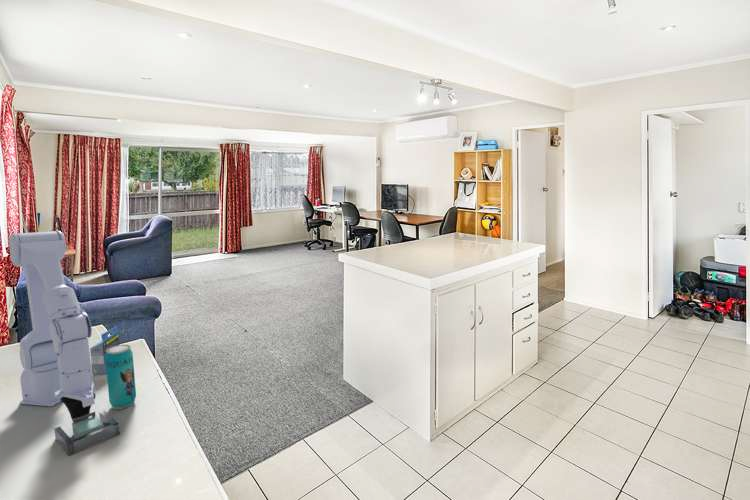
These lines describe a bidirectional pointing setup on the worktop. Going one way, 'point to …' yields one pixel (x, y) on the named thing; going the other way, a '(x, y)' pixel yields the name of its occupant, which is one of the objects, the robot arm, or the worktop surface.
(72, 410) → the robot arm
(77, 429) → the mint cube with handle
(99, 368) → the label tape box
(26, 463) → the worktop surface
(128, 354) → the beverage can
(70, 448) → the bay
